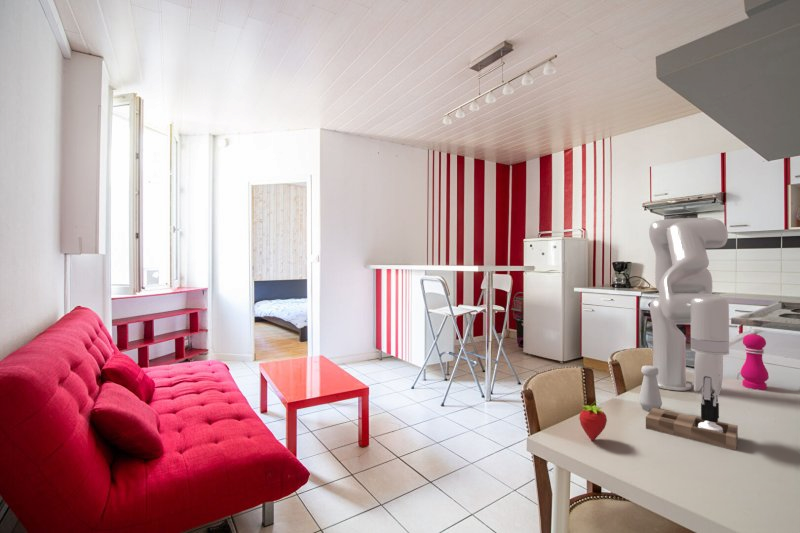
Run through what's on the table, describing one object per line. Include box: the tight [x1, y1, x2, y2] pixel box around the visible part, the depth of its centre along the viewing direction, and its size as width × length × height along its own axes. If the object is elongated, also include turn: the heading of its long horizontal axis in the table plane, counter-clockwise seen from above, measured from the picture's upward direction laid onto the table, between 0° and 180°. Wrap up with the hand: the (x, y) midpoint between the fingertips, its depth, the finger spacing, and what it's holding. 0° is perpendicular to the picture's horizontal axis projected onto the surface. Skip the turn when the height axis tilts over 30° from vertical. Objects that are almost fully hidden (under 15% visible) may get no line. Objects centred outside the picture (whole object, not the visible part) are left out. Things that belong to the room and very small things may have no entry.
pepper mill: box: [740, 329, 769, 391], centre depth 134 cm, size 7×7×20 cm
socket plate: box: [645, 408, 739, 451], centre depth 99 cm, size 9×18×3 cm, turn 46°
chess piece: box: [698, 391, 723, 433], centre depth 96 cm, size 5×5×10 cm
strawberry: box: [578, 401, 608, 441], centre depth 96 cm, size 6×8×10 cm
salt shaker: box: [638, 364, 663, 413], centre depth 115 cm, size 6×6×13 cm
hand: (710, 418), depth 97 cm, fingers closed on chess piece
